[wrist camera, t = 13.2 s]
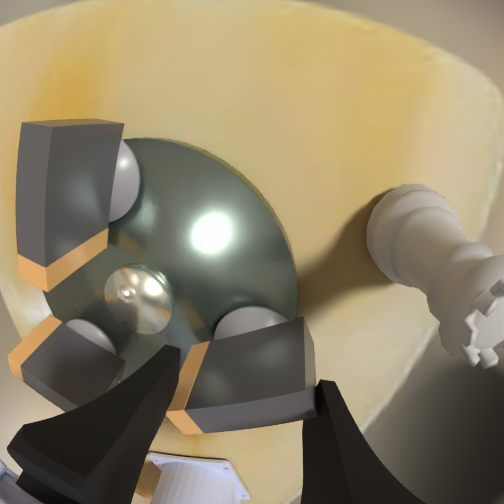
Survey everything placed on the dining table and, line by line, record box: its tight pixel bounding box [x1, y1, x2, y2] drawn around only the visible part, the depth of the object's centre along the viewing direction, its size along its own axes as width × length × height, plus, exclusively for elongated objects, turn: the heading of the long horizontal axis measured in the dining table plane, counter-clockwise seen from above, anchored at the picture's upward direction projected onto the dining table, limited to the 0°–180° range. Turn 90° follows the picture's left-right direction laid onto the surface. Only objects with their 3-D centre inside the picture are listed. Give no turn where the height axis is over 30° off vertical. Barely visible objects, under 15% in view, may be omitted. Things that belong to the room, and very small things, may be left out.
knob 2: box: [8, 314, 126, 412], centre depth 14 cm, size 6×4×5 cm
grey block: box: [166, 306, 318, 435], centre depth 12 cm, size 6×4×5 cm
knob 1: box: [16, 119, 141, 292], centre depth 10 cm, size 6×4×5 cm
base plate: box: [43, 138, 298, 382], centre depth 14 cm, size 15×15×2 cm
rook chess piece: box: [366, 184, 504, 369], centre depth 9 cm, size 4×4×8 cm
